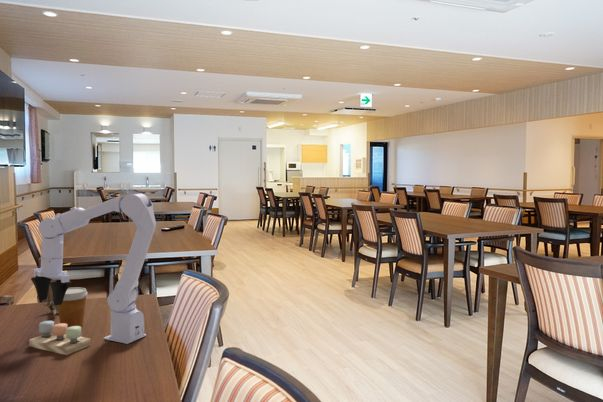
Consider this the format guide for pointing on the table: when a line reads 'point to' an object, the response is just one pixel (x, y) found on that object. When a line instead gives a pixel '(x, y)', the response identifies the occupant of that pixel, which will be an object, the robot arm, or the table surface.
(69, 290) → the disposable coffee cup
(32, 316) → the table surface
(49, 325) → the slate button
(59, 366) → the table surface
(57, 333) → the peach round knob
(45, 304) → the eagle figurine
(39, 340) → the button board
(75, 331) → the sage button
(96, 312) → the table surface
